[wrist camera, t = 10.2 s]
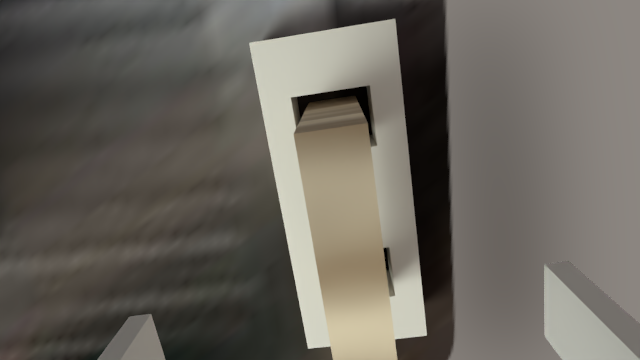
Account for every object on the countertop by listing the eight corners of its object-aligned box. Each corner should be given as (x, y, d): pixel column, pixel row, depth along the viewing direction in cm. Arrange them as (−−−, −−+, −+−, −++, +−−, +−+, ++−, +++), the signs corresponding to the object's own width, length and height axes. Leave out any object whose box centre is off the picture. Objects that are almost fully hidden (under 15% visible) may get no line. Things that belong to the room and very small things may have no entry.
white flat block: (259, 43, 27) (248, 42, 23) (387, 22, 26) (395, 18, 23) (310, 317, 32) (308, 348, 29) (417, 305, 32) (426, 335, 28)
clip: (309, 102, 28) (293, 134, 17) (354, 95, 28) (367, 123, 17) (335, 267, 31) (336, 377, 21) (376, 262, 31) (398, 371, 20)
